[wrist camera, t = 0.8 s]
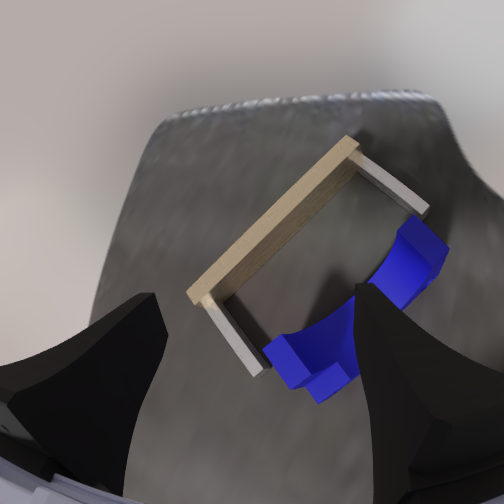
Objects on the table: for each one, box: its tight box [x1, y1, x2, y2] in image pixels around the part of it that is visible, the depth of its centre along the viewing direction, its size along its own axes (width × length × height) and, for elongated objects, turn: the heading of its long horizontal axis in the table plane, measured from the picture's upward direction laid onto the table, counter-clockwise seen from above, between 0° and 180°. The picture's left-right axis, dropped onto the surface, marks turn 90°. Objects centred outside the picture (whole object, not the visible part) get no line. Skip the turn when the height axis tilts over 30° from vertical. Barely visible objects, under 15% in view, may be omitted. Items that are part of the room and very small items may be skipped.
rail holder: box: [186, 135, 430, 377], centre depth 24 cm, size 8×18×3 cm, turn 129°
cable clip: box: [262, 214, 450, 404], centre depth 19 cm, size 12×4×6 cm, turn 126°
